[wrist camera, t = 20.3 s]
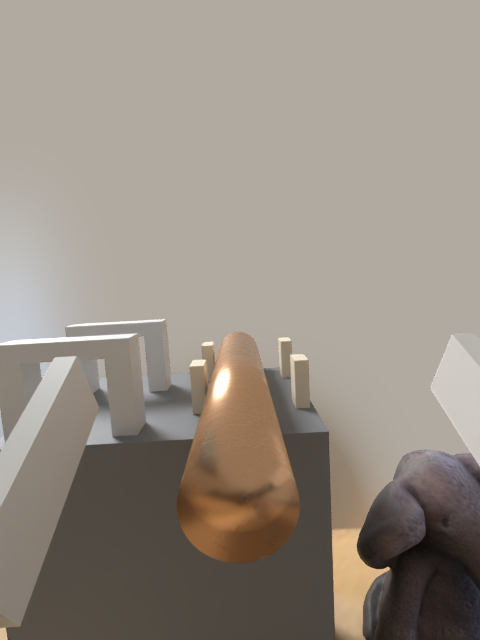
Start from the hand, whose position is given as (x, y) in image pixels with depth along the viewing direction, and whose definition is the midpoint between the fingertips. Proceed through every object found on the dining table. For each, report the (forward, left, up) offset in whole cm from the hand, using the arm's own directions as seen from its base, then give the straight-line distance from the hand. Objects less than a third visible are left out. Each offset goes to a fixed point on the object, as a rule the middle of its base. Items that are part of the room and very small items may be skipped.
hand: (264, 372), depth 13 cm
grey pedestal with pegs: (-6, +16, -34) cm, 38 cm away
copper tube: (-1, +11, -6) cm, 13 cm away
